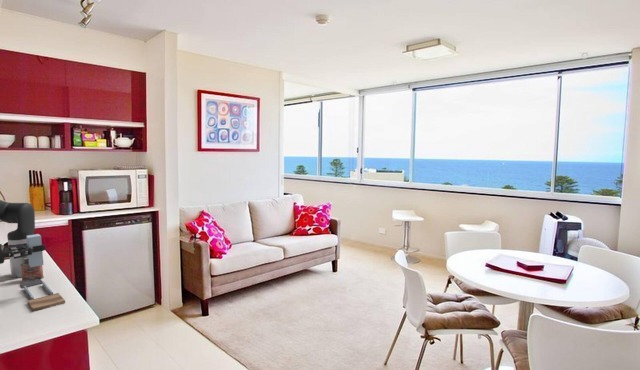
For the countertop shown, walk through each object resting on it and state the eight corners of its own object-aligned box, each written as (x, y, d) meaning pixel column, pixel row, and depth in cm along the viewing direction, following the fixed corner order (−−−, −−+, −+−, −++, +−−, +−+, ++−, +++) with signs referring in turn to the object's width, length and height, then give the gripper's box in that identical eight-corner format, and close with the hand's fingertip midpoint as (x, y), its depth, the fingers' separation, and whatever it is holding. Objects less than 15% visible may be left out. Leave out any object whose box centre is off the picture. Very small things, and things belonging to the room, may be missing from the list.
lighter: (20, 281, 157) (18, 259, 155) (24, 278, 160) (22, 256, 159) (41, 279, 159) (39, 257, 158) (45, 276, 162) (43, 255, 161)
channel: (24, 289, 148) (24, 286, 148) (44, 284, 153) (43, 281, 152) (32, 301, 137) (32, 297, 137) (53, 295, 142) (53, 292, 142)
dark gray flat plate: (20, 284, 153) (20, 283, 153) (40, 279, 158) (40, 279, 158) (22, 288, 149) (22, 287, 149) (43, 283, 154) (43, 282, 154)
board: (27, 303, 135) (27, 300, 135) (58, 295, 142) (58, 292, 142) (33, 311, 129) (33, 308, 129) (65, 302, 136) (65, 300, 136)
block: (28, 264, 143) (26, 235, 142) (41, 262, 146) (38, 233, 145) (30, 267, 141) (28, 237, 139) (43, 264, 144) (41, 235, 142)
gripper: (-13, 250, 127) (46, 240, 140) (-18, 242, 136) (38, 234, 149) (-11, 270, 128) (48, 259, 141) (-16, 261, 137) (40, 251, 150)
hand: (43, 246), depth 145 cm, fingers closed on block, 4 cm apart
